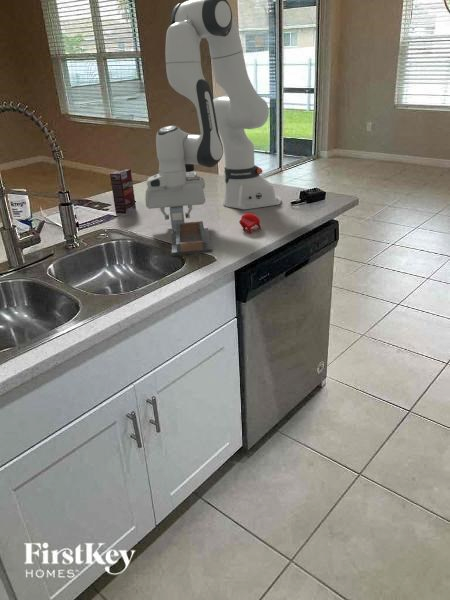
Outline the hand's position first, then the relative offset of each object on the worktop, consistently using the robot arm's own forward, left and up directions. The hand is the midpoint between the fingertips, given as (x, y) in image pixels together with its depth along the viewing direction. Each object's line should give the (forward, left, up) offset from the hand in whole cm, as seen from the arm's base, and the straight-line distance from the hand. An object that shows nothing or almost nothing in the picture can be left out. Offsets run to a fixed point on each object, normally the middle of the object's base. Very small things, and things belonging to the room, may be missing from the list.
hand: (177, 218), depth 163 cm
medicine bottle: (-5, -49, -3) cm, 49 cm away
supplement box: (+20, -22, -3) cm, 30 cm away
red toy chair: (-24, +11, -3) cm, 27 cm away
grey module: (0, 0, -3) cm, 3 cm away
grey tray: (-4, +18, -3) cm, 19 cm away
